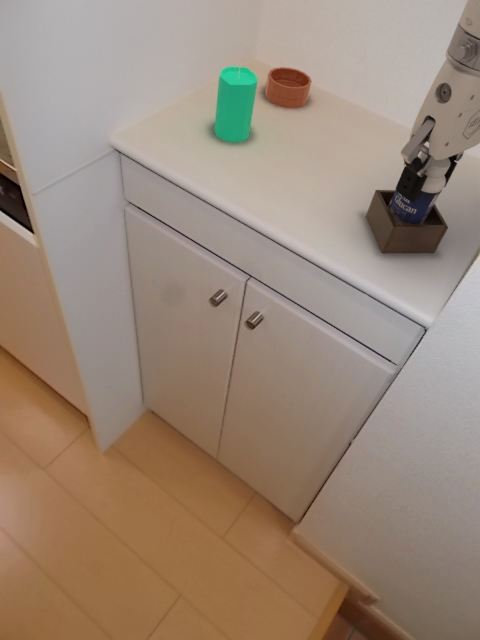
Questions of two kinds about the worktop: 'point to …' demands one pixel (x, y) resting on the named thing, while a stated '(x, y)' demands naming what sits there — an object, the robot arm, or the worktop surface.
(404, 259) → the worktop surface
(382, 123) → the worktop surface
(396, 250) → the box
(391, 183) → the worktop surface
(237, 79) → the candle
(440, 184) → the pill bottle
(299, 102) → the bowl
